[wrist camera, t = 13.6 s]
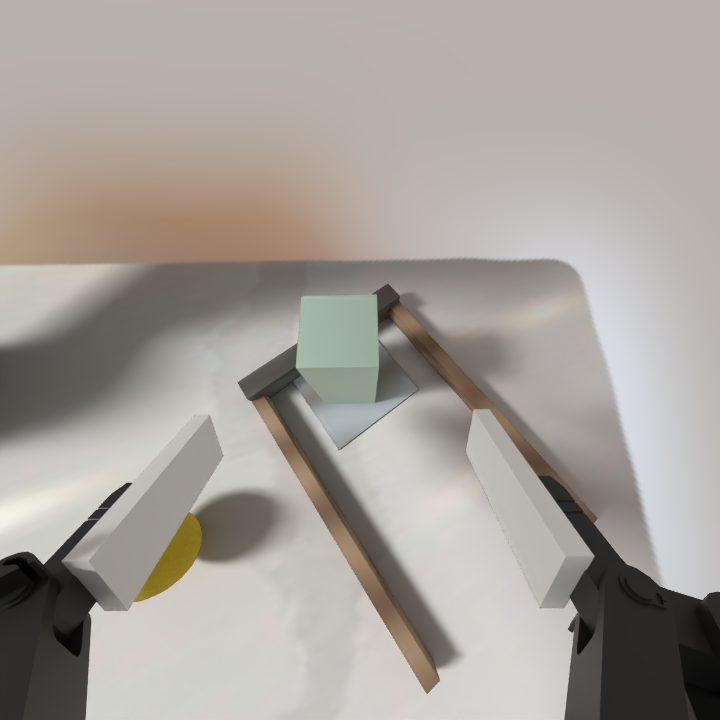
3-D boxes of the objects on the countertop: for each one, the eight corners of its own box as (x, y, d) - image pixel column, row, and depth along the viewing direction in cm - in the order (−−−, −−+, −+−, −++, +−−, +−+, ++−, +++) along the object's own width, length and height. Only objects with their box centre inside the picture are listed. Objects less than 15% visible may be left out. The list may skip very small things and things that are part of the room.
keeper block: (325, 403, 27) (295, 367, 16) (327, 357, 29) (301, 296, 18) (374, 403, 27) (379, 366, 16) (373, 357, 29) (376, 294, 18)
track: (250, 389, 28) (237, 382, 26) (386, 298, 32) (388, 283, 29) (421, 672, 21) (429, 706, 18) (579, 513, 24) (608, 521, 21)
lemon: (231, 517, 24) (170, 545, 17) (196, 585, 23) (110, 650, 15) (182, 490, 25) (104, 505, 18) (144, 553, 24) (40, 599, 16)
